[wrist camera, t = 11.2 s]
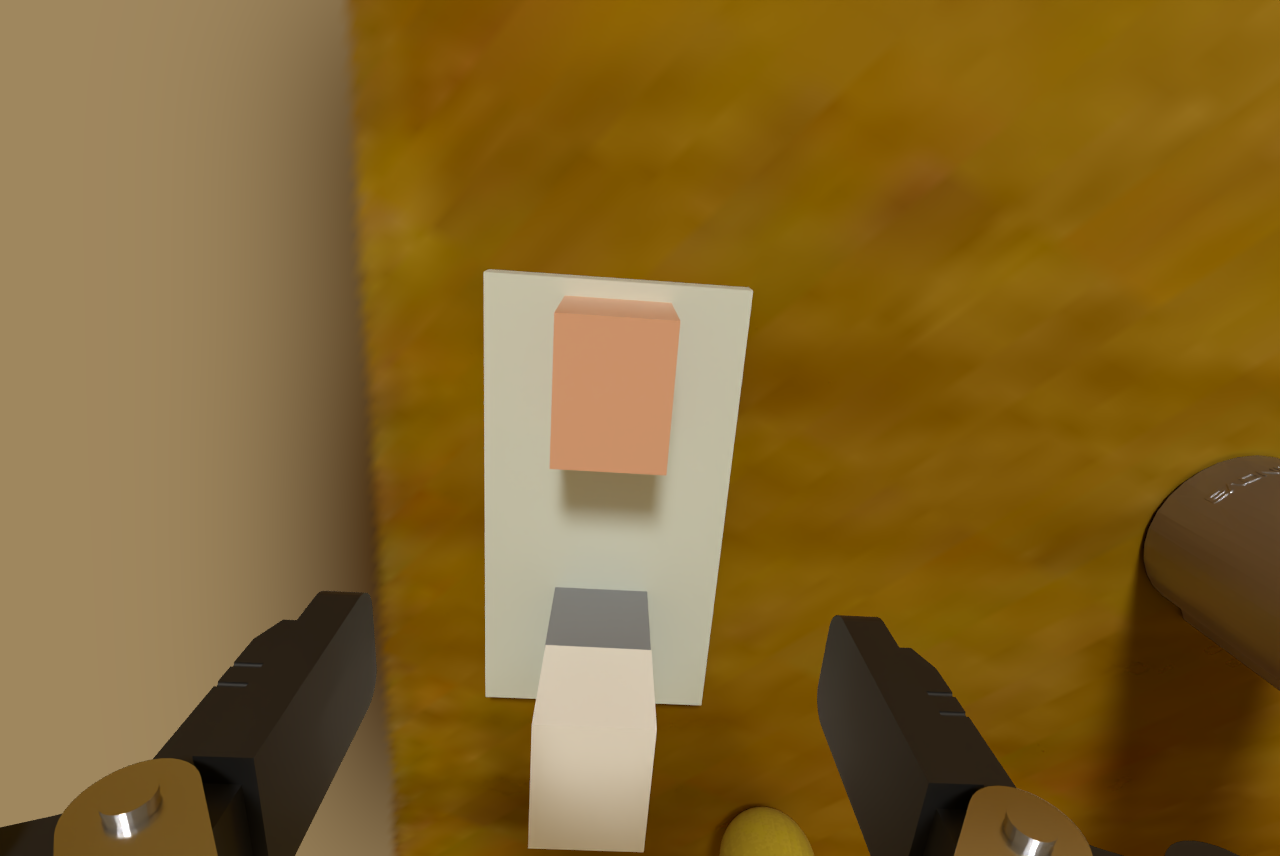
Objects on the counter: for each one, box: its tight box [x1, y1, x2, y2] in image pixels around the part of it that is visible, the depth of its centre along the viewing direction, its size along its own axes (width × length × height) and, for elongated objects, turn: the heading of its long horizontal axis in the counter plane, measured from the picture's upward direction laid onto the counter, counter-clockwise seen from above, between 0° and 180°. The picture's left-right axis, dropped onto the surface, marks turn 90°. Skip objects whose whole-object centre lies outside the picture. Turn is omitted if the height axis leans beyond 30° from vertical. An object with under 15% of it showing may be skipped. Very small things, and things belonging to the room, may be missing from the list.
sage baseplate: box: [484, 269, 753, 705], centre depth 34 cm, size 23×12×1 cm, turn 176°
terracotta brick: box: [550, 296, 680, 476], centre depth 28 cm, size 6×5×5 cm
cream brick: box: [528, 645, 657, 852], centre depth 29 cm, size 6×5×5 cm
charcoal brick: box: [545, 587, 651, 650], centre depth 33 cm, size 6×5×5 cm
